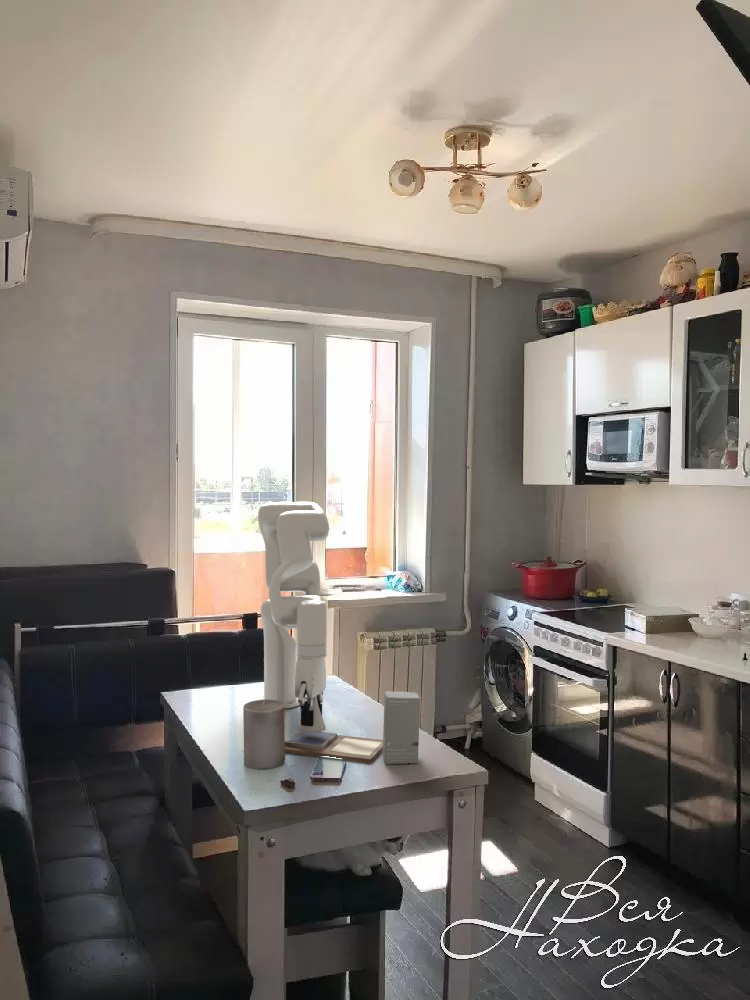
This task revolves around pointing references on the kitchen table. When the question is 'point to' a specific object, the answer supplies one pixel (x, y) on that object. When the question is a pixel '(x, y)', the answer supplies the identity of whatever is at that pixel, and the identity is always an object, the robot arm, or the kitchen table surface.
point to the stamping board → (334, 746)
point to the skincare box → (401, 727)
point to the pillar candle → (264, 734)
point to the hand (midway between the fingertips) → (311, 721)
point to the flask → (318, 720)
